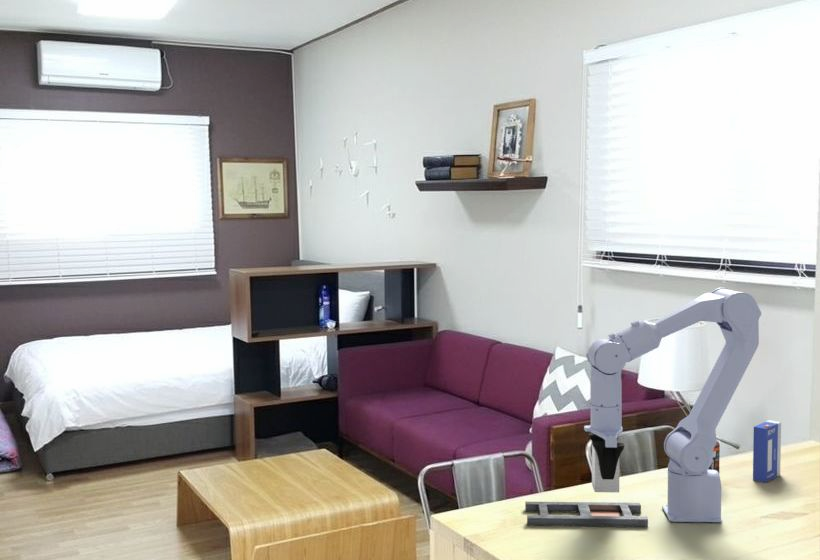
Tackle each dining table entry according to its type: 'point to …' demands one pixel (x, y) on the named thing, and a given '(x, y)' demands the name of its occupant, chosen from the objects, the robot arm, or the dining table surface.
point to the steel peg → (597, 480)
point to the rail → (585, 514)
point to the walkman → (766, 451)
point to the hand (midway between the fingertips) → (605, 474)
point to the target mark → (604, 513)
